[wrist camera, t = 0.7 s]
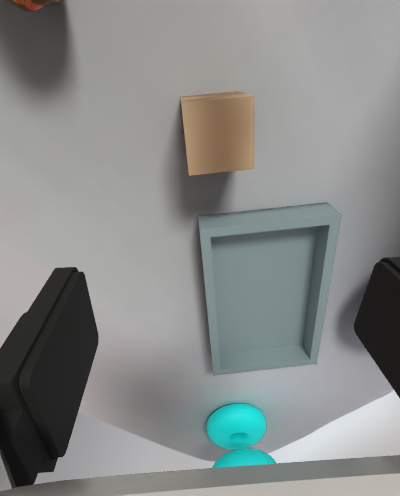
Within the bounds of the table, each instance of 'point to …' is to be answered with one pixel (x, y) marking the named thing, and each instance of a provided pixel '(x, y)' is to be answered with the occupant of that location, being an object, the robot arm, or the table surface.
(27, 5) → the tin
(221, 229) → the tray
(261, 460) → the donuts
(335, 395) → the table surface
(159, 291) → the table surface
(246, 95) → the block
